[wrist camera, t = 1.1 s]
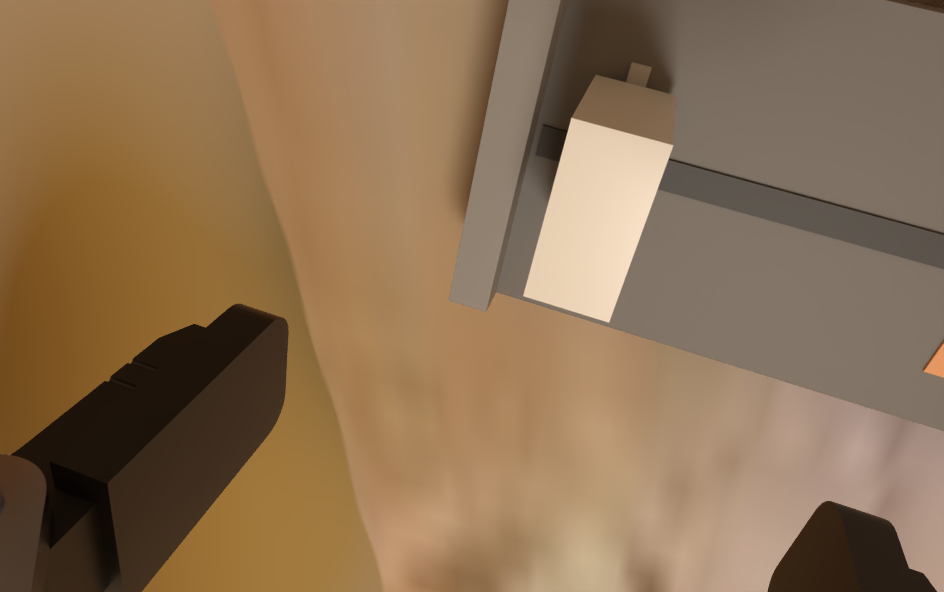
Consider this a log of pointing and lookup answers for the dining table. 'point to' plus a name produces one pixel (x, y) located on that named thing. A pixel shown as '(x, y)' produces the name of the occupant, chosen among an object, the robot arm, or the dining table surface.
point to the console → (745, 183)
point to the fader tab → (601, 196)
